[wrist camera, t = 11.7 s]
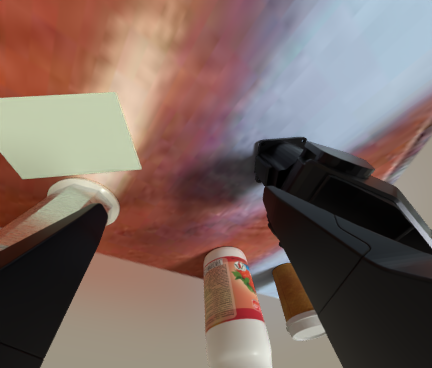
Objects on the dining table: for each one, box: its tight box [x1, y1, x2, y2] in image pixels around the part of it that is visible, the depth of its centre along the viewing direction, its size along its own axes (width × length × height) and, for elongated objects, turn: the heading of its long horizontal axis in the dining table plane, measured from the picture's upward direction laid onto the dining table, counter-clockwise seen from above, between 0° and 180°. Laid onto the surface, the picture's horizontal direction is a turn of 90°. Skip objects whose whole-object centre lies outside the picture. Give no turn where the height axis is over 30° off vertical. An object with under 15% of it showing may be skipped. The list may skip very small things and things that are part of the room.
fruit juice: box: [203, 247, 273, 368], centre depth 22 cm, size 9×9×28 cm
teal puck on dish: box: [47, 178, 120, 226], centre depth 22 cm, size 9×9×3 cm
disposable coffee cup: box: [272, 263, 327, 341], centre depth 34 cm, size 10×10×12 cm
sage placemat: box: [0, 92, 142, 179], centre depth 18 cm, size 15×9×1 cm, turn 93°
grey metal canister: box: [0, 184, 113, 251], centre depth 18 cm, size 7×7×11 cm
